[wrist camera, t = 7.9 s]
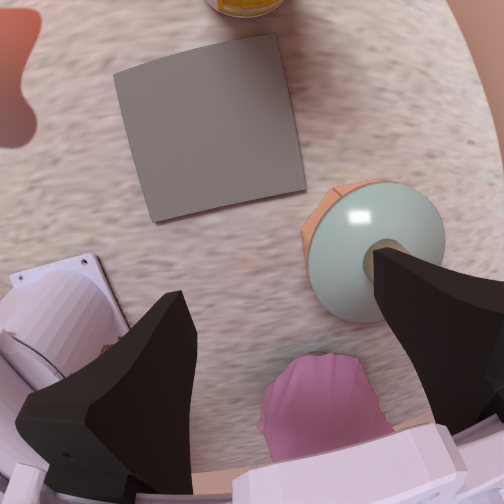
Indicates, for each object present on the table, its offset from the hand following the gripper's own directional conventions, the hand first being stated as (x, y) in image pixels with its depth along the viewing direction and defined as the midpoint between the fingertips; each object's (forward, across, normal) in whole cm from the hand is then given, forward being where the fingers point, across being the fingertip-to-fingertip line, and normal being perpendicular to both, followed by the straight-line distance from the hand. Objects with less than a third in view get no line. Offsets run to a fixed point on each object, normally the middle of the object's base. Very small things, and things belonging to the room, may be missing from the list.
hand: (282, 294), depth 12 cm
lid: (+7, -6, +3) cm, 10 cm away
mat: (+10, +2, -6) cm, 12 cm away
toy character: (+10, -1, +16) cm, 19 cm away
